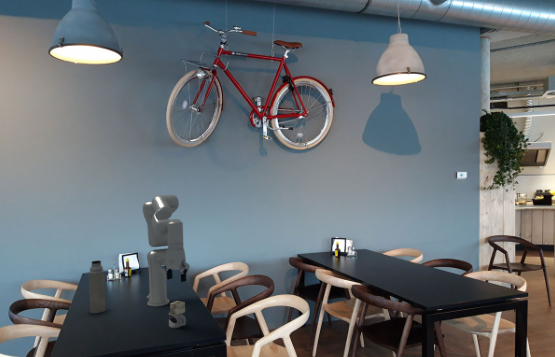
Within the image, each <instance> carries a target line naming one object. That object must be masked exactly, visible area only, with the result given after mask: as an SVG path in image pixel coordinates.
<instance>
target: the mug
mask: <svg viewBox="0 0 555 357" xmlns="http://www.w3.org/2000/svg"><path fill="white" fill-rule="evenodd" d="M186 324H187V319H186V316H185V315H183V313H182V314H179V315H175V314H171V313H170V311H169V312H168V326H169V328H171V329H177V328H181V327H184V326H186Z"/></svg>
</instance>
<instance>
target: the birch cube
mask: <svg viewBox="0 0 555 357" xmlns="http://www.w3.org/2000/svg"><path fill="white" fill-rule="evenodd" d="M169 304H170V306H169V308H170V311H169V312H170V313H171V314H175V315H179V314H182V315H183V314H184V313H186V302H185V301H180V300H175V301H173V302H171V303H170V302H169Z"/></svg>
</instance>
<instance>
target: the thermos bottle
mask: <svg viewBox="0 0 555 357" xmlns="http://www.w3.org/2000/svg"><path fill="white" fill-rule="evenodd" d="M105 279H106V278H105V270H104V267H103V265H102V260H92V261H91V266H90V267H89V271H88V285H89V286H88V287H89V288H88V289H89V291H88V293H89V313H91V314H100V313H103V312H105V311H106V310H107V309H106V287H105V285H106V283H105V281H106V280H105Z"/></svg>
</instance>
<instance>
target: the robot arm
mask: <svg viewBox="0 0 555 357" xmlns="http://www.w3.org/2000/svg"><path fill="white" fill-rule="evenodd" d="M179 203H180V202H179V198H178V197H177V196H176V195H175V194H164V195H163V194H160V195H156V196H154V197H153V198H152V199H151V201H146V202H145V203H143V204H142V213H143V217H144V219H145V222H146V226H147V239H148V241H147V242H148V245H149V246H150V247H151V248H157V249H152V250H150V251H148V252H147V253H146V260H147V266H148V278H149V280H148V281H149V282H148V283H149V293H148V295H147V296H146V298H147V299H148V301H147V302H146V303H147V306H149V307H163V306H166V305H168V304H170V299H169V298H168V297H167V281H169V280H171V279H173V276H174V275H173V271H180V282H181V283H184V282H187V274H188V271H189V269H190V264H189V263H187V259H186V258H187V257H186V252H185V249H184V223H183V222H182V221H181V220H180V219H179V218H173V219H171V217H172V215H173V214H174V213H175V212H176V211H177V210H178V208H179V205H180V204H179ZM160 247H167V248H160ZM162 266H164V268H163V267H162Z"/></svg>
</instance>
